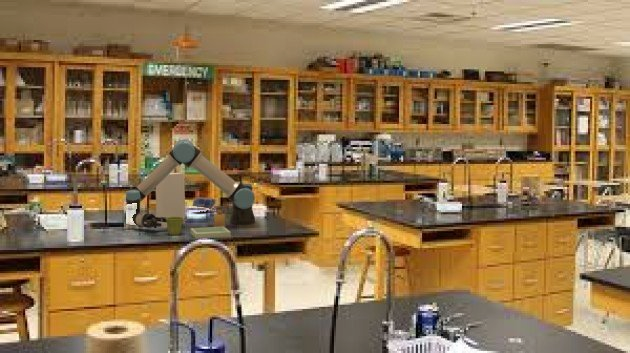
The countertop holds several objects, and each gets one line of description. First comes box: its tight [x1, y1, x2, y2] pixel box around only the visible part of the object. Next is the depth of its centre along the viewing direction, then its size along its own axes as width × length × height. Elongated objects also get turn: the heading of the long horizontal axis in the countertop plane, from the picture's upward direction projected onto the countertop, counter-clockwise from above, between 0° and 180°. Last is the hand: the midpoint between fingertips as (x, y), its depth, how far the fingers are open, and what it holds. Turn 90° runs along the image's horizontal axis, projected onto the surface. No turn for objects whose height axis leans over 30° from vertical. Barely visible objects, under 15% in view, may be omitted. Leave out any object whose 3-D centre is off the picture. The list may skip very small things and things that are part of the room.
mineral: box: [191, 196, 216, 210], centre depth 445 cm, size 14×10×10 cm, turn 119°
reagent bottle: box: [213, 205, 226, 228], centre depth 380 cm, size 6×6×13 cm
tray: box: [189, 226, 232, 241], centre depth 364 cm, size 18×18×3 cm
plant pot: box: [166, 217, 184, 236], centre depth 368 cm, size 9×9×9 cm
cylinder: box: [155, 172, 186, 219], centre depth 420 cm, size 17×17×28 cm
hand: (175, 223), depth 367 cm, fingers open, 13 cm apart
